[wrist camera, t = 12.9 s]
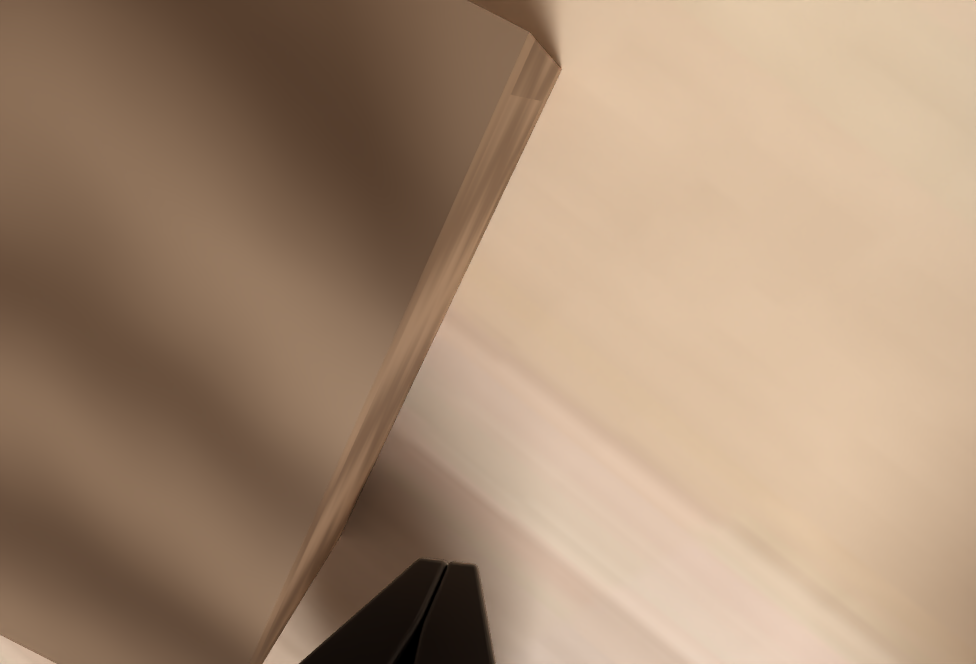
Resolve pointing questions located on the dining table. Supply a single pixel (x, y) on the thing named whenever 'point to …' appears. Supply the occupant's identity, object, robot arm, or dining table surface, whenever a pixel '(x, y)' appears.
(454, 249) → the cabinet
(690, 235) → the dining table surface
